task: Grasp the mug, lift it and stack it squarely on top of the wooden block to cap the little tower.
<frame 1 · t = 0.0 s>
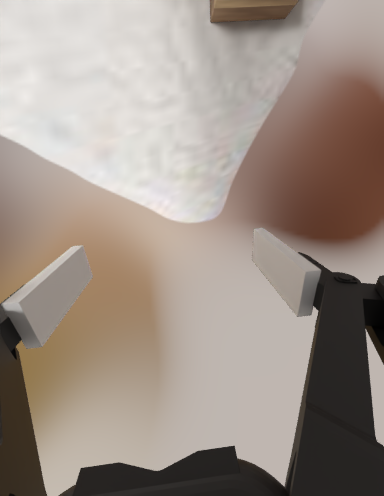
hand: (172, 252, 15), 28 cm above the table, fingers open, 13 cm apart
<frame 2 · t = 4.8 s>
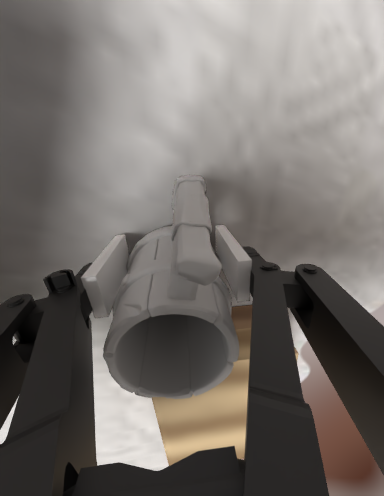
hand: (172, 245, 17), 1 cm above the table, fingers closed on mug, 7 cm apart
wooden block: (212, 361, 24), on the table
mug: (176, 240, 18), on the table, touching gripper
when the fingers open (8 cm above the table, at t = 9.8 s): mug drops 1 cm, resting on wooden block.
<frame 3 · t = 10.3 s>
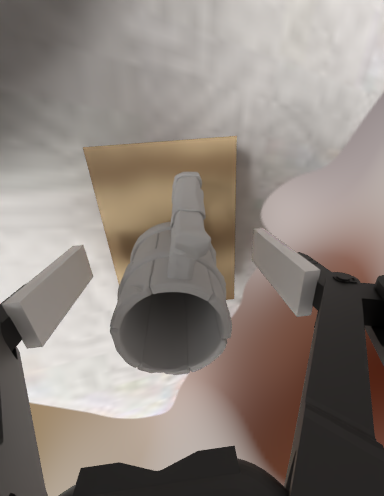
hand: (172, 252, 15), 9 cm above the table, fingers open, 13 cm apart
wooden block: (173, 220, 24), on the table
mug: (176, 235, 19), point 6 cm above the table, touching wooden block
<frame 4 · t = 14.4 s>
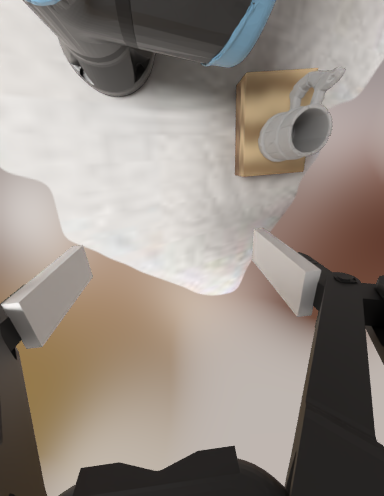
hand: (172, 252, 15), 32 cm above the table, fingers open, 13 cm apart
wooden block: (264, 131, 41), on the table
mug: (279, 126, 36), point 6 cm above the table, touching wooden block
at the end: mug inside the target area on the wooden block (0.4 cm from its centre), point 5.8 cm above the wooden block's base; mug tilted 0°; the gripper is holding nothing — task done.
